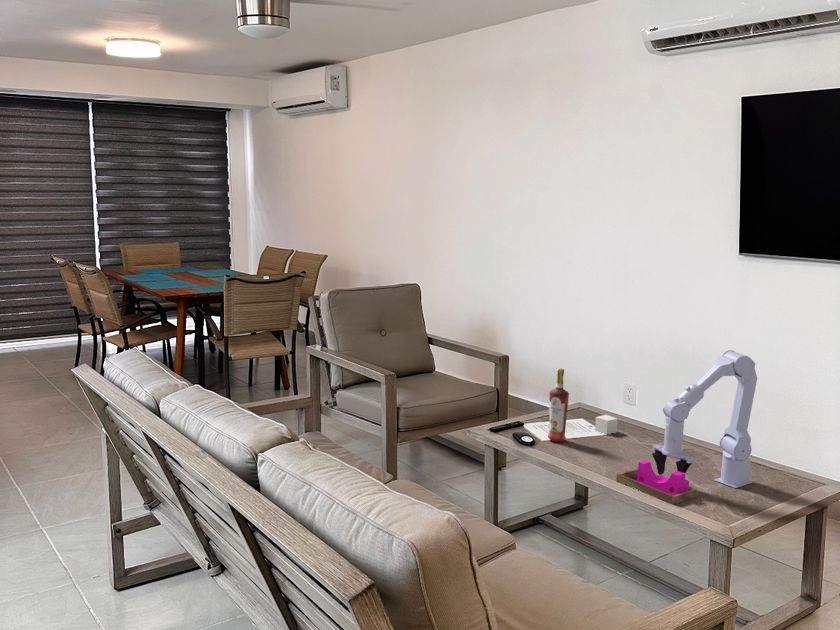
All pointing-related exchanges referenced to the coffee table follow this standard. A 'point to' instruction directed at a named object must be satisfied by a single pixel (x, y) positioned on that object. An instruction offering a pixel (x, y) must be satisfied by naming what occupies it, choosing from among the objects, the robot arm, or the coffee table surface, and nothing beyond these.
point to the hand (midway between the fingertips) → (670, 477)
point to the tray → (626, 479)
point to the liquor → (558, 409)
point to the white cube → (606, 424)
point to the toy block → (662, 479)
